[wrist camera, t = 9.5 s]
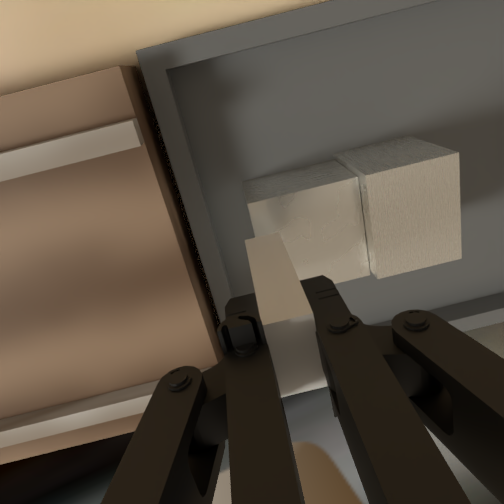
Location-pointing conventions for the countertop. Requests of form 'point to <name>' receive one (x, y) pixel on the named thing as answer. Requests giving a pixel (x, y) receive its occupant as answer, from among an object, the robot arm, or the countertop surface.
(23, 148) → the slot board
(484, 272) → the tray
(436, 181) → the beige block
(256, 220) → the white squarish block
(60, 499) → the countertop surface
